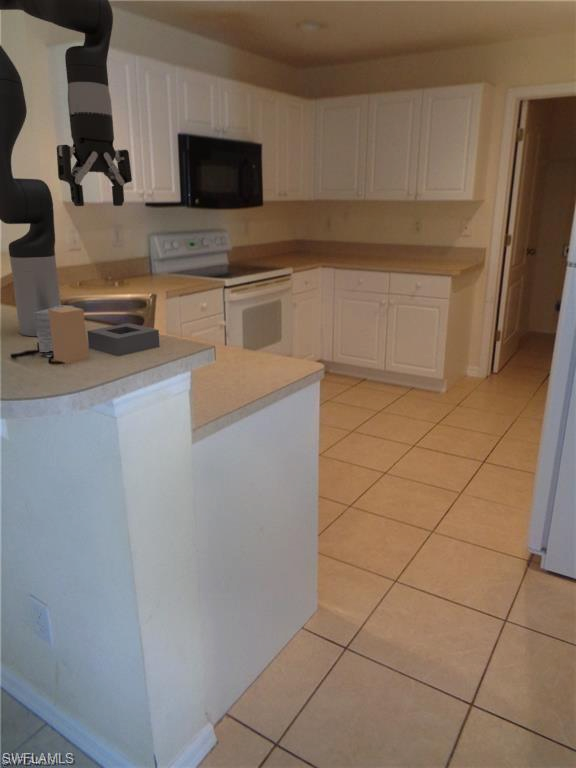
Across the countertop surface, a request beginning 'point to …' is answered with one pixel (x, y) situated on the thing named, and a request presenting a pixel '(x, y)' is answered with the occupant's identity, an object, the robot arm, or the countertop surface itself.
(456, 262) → the countertop surface
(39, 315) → the medicine box
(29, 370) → the countertop surface
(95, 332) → the gray square socket block
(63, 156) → the robot arm
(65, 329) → the plug
